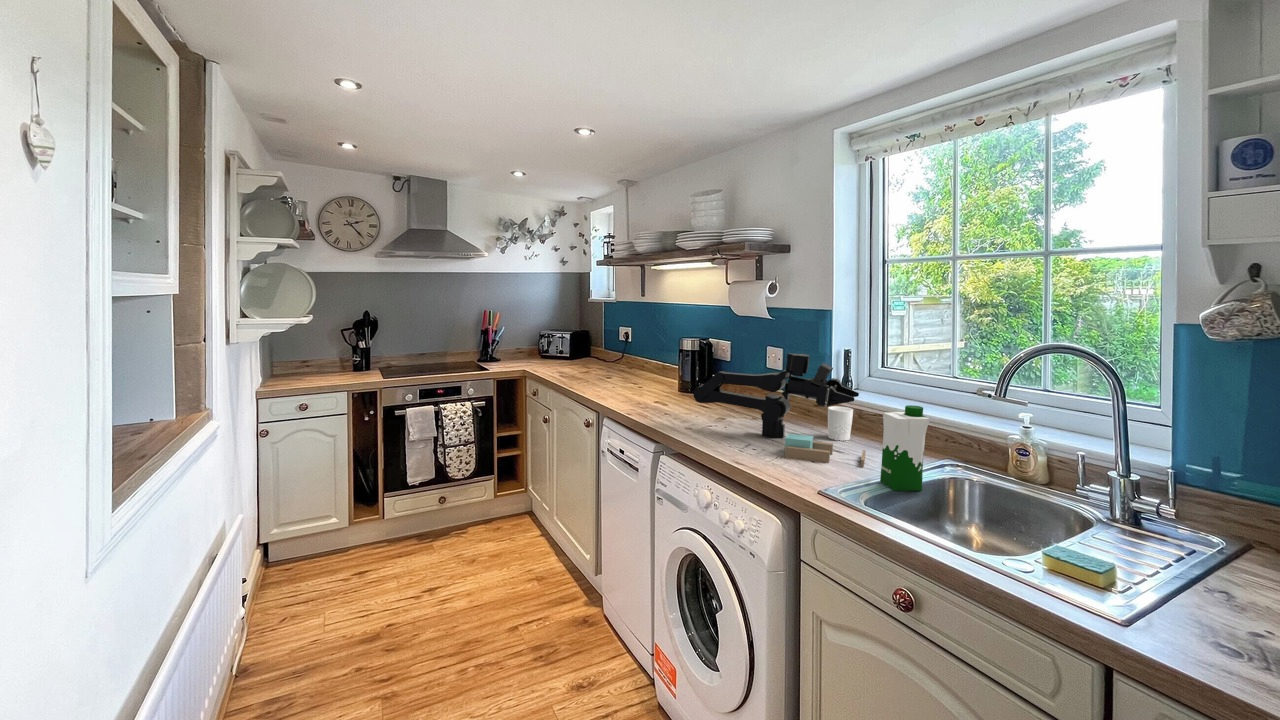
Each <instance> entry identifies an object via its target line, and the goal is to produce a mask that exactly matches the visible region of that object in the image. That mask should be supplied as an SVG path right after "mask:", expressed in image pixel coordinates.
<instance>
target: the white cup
mask: <svg viewBox="0 0 1280 720" xmlns="http://www.w3.org/2000/svg"><path fill="white" fill-rule="evenodd" d="M853 415H854V408H851V407H847V406H838V405H837V406H836V405H831V406H827V437H828V438H829V439H830V440H833V439H834V441H839V440H840V441H839V442H844V441H845V440H846V441H849V440H850V438H851V431H852V424H853Z"/></svg>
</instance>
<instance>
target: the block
mask: <svg viewBox="0 0 1280 720" xmlns="http://www.w3.org/2000/svg"><path fill="white" fill-rule="evenodd" d="M784 438H785V439H784V440H785V441H784V448H785V447H786V446H793V447H802V448H810V449H812V447H813V441H814V436H813V435H805V434H795V433H788V434H787V435H786V436H785V437H784Z"/></svg>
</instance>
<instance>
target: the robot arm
mask: <svg viewBox="0 0 1280 720" xmlns="http://www.w3.org/2000/svg"><path fill="white" fill-rule="evenodd" d="M810 356H811V355H809V354H807V353H806V354H805V353H790V352H789V353H787V354H786V365H785V369H784V370H783V369H782V370H781V372H778V371H777V372H769V373H768V372H767V373H762V374H761V373H760V374H753V373H743V372H741V373H740V372H739V373H738V372H729V371H724V370H722V371H718V372H716V373H715V374H713V376H712V377H711V378H709V379H708V380H707V381H706V382H705V383H703V384H702V385H699V386H697V387H696V388H694V390H693V393H692V394H693V395H692V396H693V398H694V399H695V402H697V403H699V404H714V403H720V404H721V403H722V404H725V405H726V404H727V405H732V406H738V407H740V408H741V407H742V408H748V409H754V410H759V411H760V412H762V413H761V414H760V418H761V420H762V422H761V423H762V425H761V428H762V430H761V437H764V438H767V439H768V438H769V439H783V438H785V433H786V432H785V430H786V424H784V417H785V415H786V414H788V413H789V412H790V410H791V407H792V406H791V402H790V400H789V399H790V398H791V395H794V396H799V397H803V398H804V399H807V400H809V399H815V404H816V405H817V406H818V407H822V408H825V407H832V406H836V405H837V406H838V405H841V404H842V405H843V404H846V403H852V402H854V401H855V398H857V397H859V395H860V392H858V391H855V390H853V389H851V388H848V387H845V386H844V385H843V384H842V383H841V380H839V378H835V377H833V378H831V379H829V380H828V377H829V375H830V374H831V372H832V371H833V369H834V367H832V366H830V365H829V364H827V363H825V362H824V363H822V364H821V365H819V367H818V368H817V372H816V373H815V375H814V377H810V378H805V377H804V375H805V374H808V370H809V364H810ZM803 377H804V378H803ZM723 385H734V386H745V387H747V386H748V387H755V388H758V389H760V390H762V391H763V390H764V391H765V392H770V393H769V394H766V395H765V397H762V396H761V397H760V396H756V395H755V396H754V395H749V394H744V393H738V392H733V391H726V390H723V389H722V386H723ZM783 388H784V391H782V392H781V393H780V395H778V394H775V393H776V392H779V391H780V390H783Z"/></svg>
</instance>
